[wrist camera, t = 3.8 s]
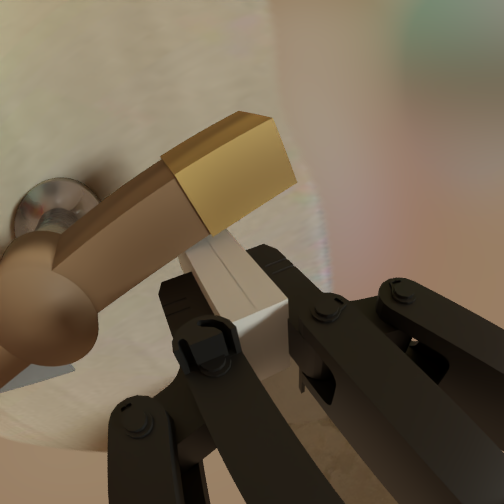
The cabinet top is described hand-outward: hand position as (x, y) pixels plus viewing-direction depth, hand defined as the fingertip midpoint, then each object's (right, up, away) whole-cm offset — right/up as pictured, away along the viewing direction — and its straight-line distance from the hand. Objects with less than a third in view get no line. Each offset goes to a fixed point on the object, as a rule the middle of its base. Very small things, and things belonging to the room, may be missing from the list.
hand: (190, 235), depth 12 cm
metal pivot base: (-7, +1, +1) cm, 7 cm away
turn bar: (-7, -3, -3) cm, 8 cm away
